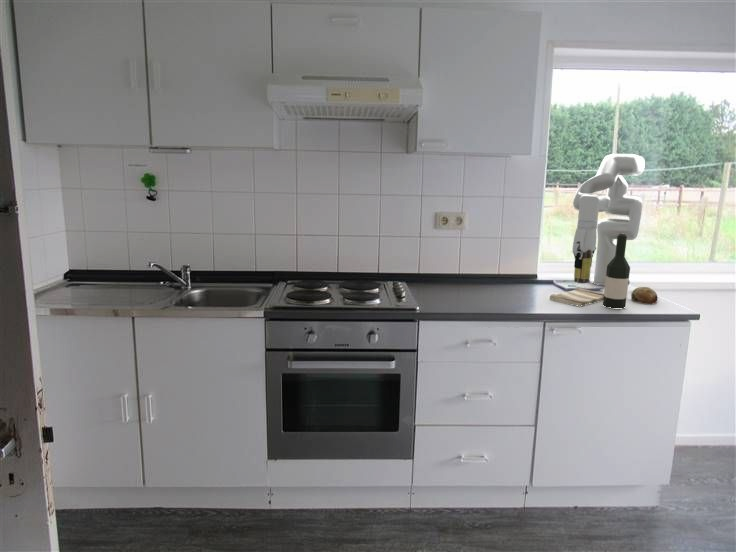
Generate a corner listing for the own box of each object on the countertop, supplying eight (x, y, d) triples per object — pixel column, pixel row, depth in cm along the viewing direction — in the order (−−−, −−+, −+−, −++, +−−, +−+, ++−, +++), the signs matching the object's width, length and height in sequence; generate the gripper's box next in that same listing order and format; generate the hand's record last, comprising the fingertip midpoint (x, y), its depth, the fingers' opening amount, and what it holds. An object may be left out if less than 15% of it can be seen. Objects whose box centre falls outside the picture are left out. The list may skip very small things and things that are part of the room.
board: (579, 292, 229) (580, 287, 229) (609, 298, 218) (609, 294, 218) (549, 299, 217) (550, 294, 217) (579, 306, 206) (579, 302, 206)
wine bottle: (630, 308, 204) (639, 234, 197) (612, 310, 202) (621, 235, 195) (614, 303, 212) (623, 231, 205) (598, 304, 210) (606, 232, 203)
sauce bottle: (590, 281, 217) (595, 235, 212) (587, 284, 212) (592, 237, 207) (575, 279, 220) (579, 234, 216) (571, 282, 215) (576, 235, 211)
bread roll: (627, 307, 220) (623, 291, 217) (643, 295, 222) (640, 279, 219) (647, 313, 211) (644, 297, 208) (664, 300, 213) (661, 284, 210)
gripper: (590, 222, 218) (586, 263, 222) (566, 225, 209) (562, 268, 213) (607, 224, 212) (602, 266, 216) (583, 227, 203) (578, 271, 207)
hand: (582, 266), depth 214 cm, fingers closed on sauce bottle, 6 cm apart
